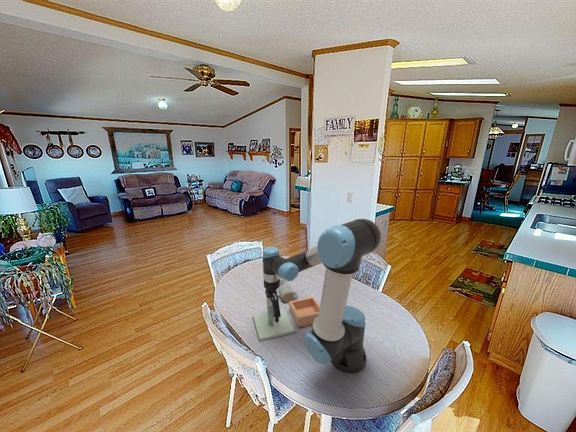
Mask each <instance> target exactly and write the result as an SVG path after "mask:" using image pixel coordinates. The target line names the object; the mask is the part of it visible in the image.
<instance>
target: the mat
mask: <svg viewBox="0 0 576 432" xmlns="http://www.w3.org/2000/svg"><path fill="white" fill-rule="evenodd" d="M285 311H286V309H285ZM286 312H287V311H286ZM251 318H252V321H253V322H252V323H253V324H254V329H255V332H256V333H255V334H256V335H257V336H256V337H257V339H258V343H261V342H264V341H269V340H273V339H277V338H281V337H286V336H291V335H293V334H297V332H296V329H295V328H294V330H295V333H291V334H286V335H282V336H278V337H274V338H270V339H266V340H262V341H260V340H259V336H258V332H257V329H256V325H255V322H254V318H253V316H252V317H251Z"/></svg>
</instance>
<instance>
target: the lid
mask: <svg viewBox="0 0 576 432" xmlns="http://www.w3.org/2000/svg"><path fill="white" fill-rule="evenodd" d="M285 310H286V309H285V308H281V309H280V315H281V317H279V324H280V326H278V327H274V324H273V315H274V313H273V307H272V306H270V307H268V310H267V311H266V312H263V313H258V314H253V315H252V317H253V318H254V322H255V325H256V329H257V332H258V336H259V340H260V341H261V342H263V341H262V340H265V341H267V340H266V339H270V338H274V337H278V336H282V335H286V334H290V335H292V334H291V333H294V334H296V333H295V331H296V329H295V328H294V325H293V323H292V321H291V319H290V317H289V315H288V313H287V311H285ZM253 318H252V319H253ZM254 322H253V323H254ZM256 329H255V330H256ZM294 329H295V330H294ZM258 336H257V337H258ZM286 336H287V335H286ZM282 337H283V336H282ZM278 338H279V337H278ZM274 339H275V338H274ZM259 340H258V341H259ZM270 340H271V339H270Z"/></svg>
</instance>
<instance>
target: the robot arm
mask: <svg viewBox="0 0 576 432" xmlns="http://www.w3.org/2000/svg"><path fill="white" fill-rule="evenodd" d="M381 241H382V233H381V230H380V228H379V226H378V225H377V224H376V223H375V222H374V221H372V220H370V219H367V218H358V219H354V220H351V221H349V222H346V223H343V224H337V225H333V226H331V227H330V228H327V229H326V230H324V231H323V232H322V233H321V234H320V236H319V237H318V240H317V244H316V245H317V246H314V247H312V248H309V249H308V250H305V251H303V252H301V253H298V254H296V255H295V254H294V255H293V256H290V257H287V258H284V257H282V256H281V255H280V251H279V248H278V247H276V246H268V247H264V248H263V250H262V270H263V271H262V275H263V288H264V289H265V292H264V294H265V295H266V309H267V311H268V307H270V306H272V307H273V313H274V315H273V324H274V327H278V326H280V324H279V317H281V315H280V310H281V309H280V302H279V301H280V300H279V294H278V289H279V287H280V286H281V285H280V284H281V281H280V280H281V279H283V280H285V281H287V282H293V281H294V280H295V279H296V278H297V277H298V275H299V273H301V272H303V271H305V270H308V269H311V268H314V267H315V266H317V265H321V264H322V265H323V266H324V268H325V274H324V280H323V285H322V291H321V296H320V297H321V299H320V303H319V305H320V309H319V315H318V317H317V318H316V319H315V320H314V322H313V324H312V327H311V331H309V332H306V334H305V335H304V337H303V340H304V341H303V342H304V345H305V348H306V351H307V353H308V354H309V356H311V358H312V359H313V360H314V361H315V362H316V363H318V364H320V365H324V366H325V365H326V364H328V363H331V364H332V365H333V366H334V367H335V368H336V369H337V370H338V371H341V372H343V373H346V374H356V373H360V372H362V370H363V369H364V368H365V367H366V364H367V353H366V350H365V347H364V339H365V329H366V325H367V324H366V316H365V314H364V312H363V311H361V310H360V309H359V308H357V307H354V306H350V305H347V302H348V298H349V292H350V288H351V283H352V279H353V275H354V274H356V273H358V272H359V269H360V266H361V262H362V258H363V257H365V256H366V255H369V254H371V253H373V252H374V251H375V250H377V248H378V247H379V246H380V244H381Z"/></svg>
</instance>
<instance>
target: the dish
mask: <svg viewBox="0 0 576 432" xmlns="http://www.w3.org/2000/svg"><path fill="white" fill-rule="evenodd" d="M288 308H289V310H288V311H289V313H290V314H291V317H292V319H293V320H294V322H295V325H296V327H297V328H298V329H299V328H303V327H308V326H311V325H312V326H313V322H314V320H315V319H316V318H317V317H318V315H319V309H320V303H319V302H318V301H317V299H316V298H315V297H314V296H310V297H305V298H304V297H303V298H299V299H293V300H292V301H289V302H288Z"/></svg>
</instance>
